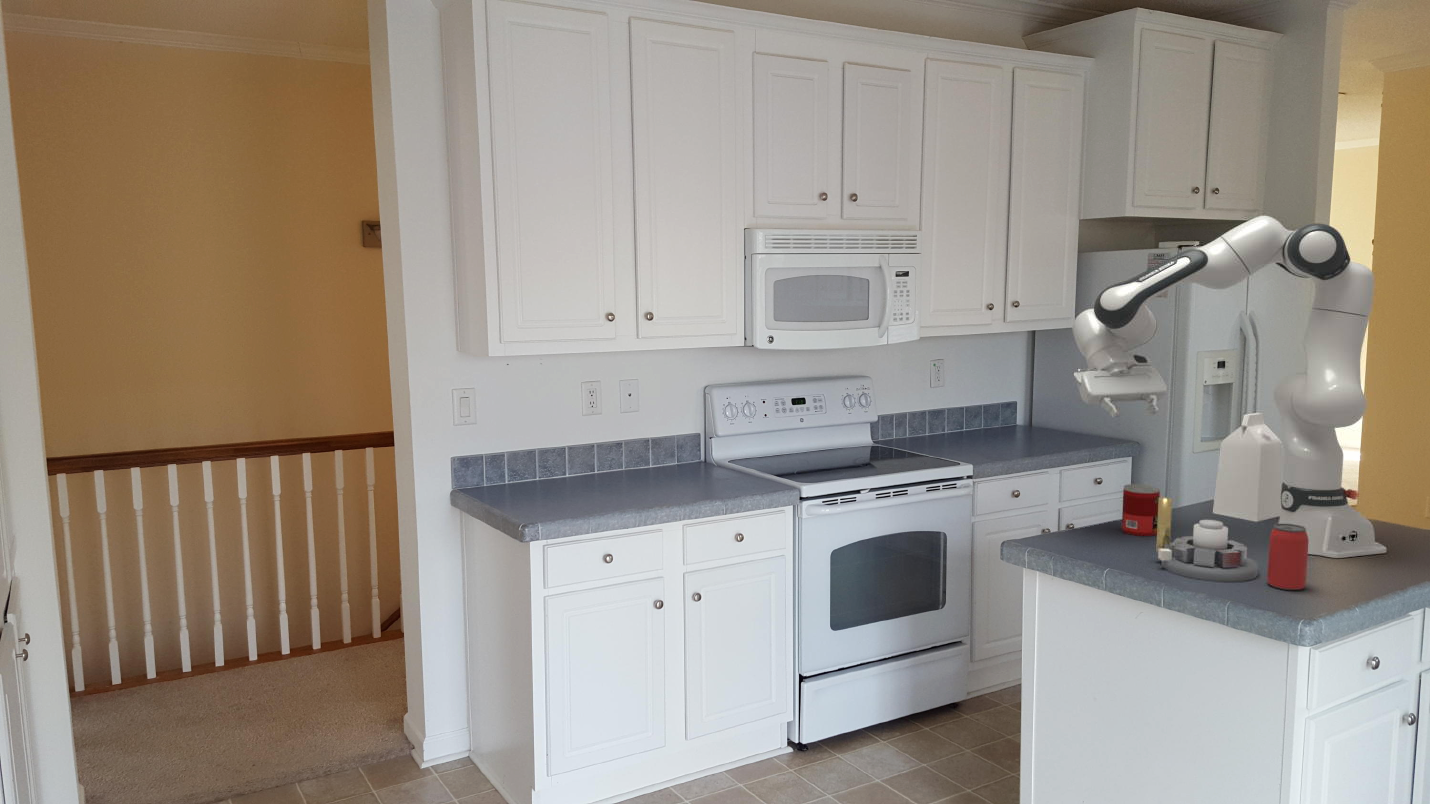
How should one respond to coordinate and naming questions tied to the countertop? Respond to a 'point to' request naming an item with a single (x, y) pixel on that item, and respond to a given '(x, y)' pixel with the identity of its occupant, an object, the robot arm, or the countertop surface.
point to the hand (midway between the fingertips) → (1135, 414)
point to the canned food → (1140, 509)
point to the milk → (1250, 472)
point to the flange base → (1213, 571)
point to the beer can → (1288, 557)
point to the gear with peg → (1184, 545)
